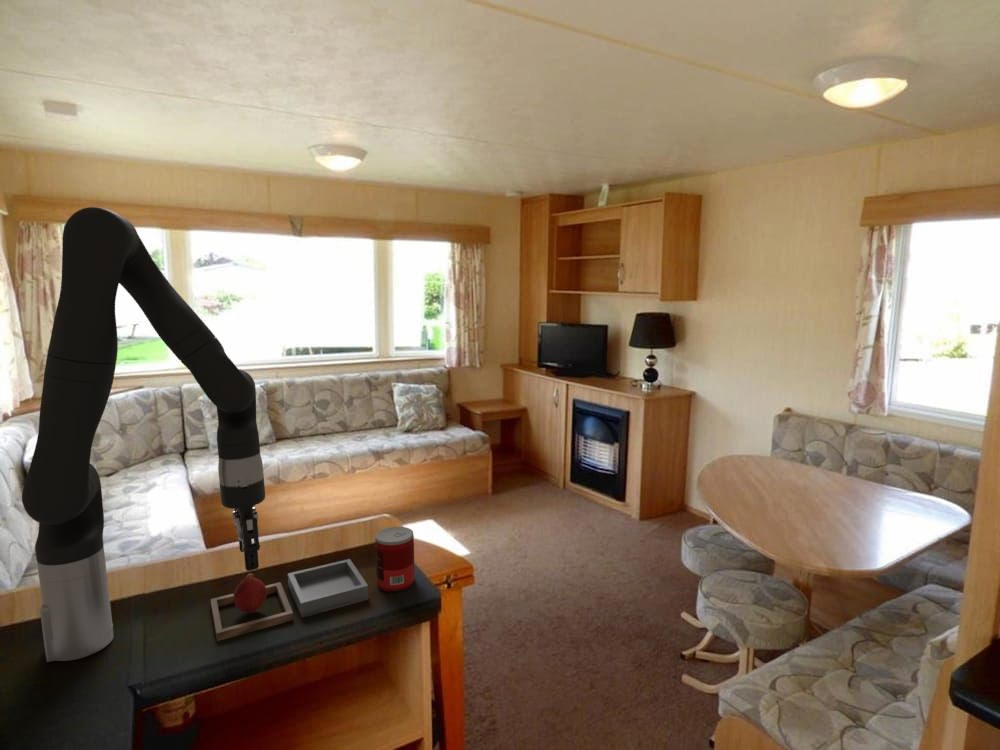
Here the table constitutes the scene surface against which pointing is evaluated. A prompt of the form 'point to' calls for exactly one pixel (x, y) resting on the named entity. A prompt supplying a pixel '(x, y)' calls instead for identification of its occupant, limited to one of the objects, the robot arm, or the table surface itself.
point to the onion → (250, 594)
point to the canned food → (394, 558)
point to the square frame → (250, 625)
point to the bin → (327, 587)
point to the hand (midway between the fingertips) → (249, 559)
